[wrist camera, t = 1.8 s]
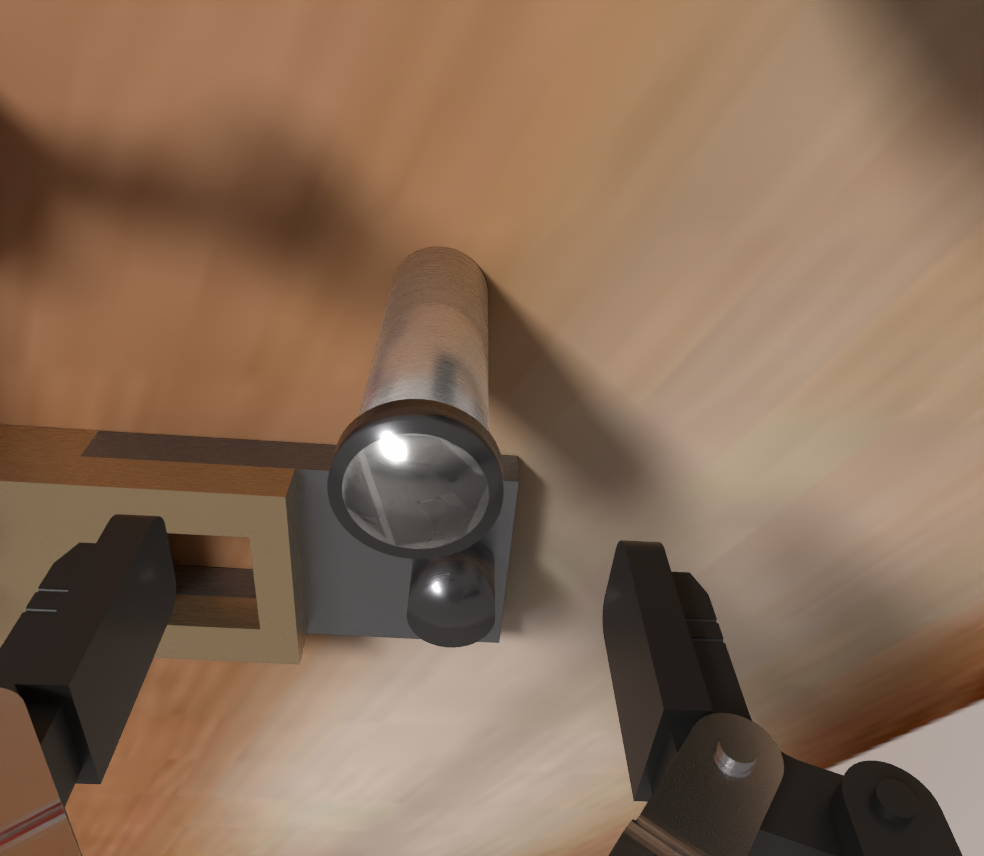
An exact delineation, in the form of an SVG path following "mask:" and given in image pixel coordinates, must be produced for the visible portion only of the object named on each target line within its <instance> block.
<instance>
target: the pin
mask: <svg viewBox="0 0 984 856" xmlns="http://www.w3.org/2000/svg"><path fill="white" fill-rule="evenodd" d="M327 492H328V499H329V502H330V505H331V508H332V510H333V512H334V514H335V516H336V518H337V519H338V521H339V522H340V524H341V525H342V526H343V527H344V528H345V529H346V531H347V532H349V533H350V534H351V535H352V536H353V537H354V538H356V539H357V540H358V541H360V542H361V543H363V544H364V545H366V546H368V547H370V548H372V549H374V550H376V551H379V552H381V553H384V554H388V555H391V556H395V557H400V558H407V559H432V558H439V557H444V556H448V555H451V554H454V553H457V552H459V551H462V550H464V549H466V548H468V547H470V546H471V545H473V544H475V543H476V542H477V541H479V540H480V539H481V538H482V537H483V536H484V535H485V534H487V533H488V532H489V530H490V529H491V528H492V526H493V525H494V524H495V522H496V520H497V518H498V516H499V514H500V511H501V508H502V504H503V495H504V486H503V464H502V457H501V454H500V451H499V448H498V446H497V444H496V442H495V440H494V439H493V437H492V436H491V434H490V433H489V414H488V289H487V283H486V279H485V277H484V275H483V273H482V271H481V269H480V268H479V266H478V265H477V264H476V263H475V262H474V261H473V260H472V259H471V258H470V257H468V256H467V255H465V254H463V253H462V252H460V251H457V250H455V249H451V248H447V247H428V248H424V249H421V250H419V251H416V252H414V253H413V254H411V255H409V256H408V257H407V258H405V259H404V260H403V261H402V262H401V264H400V265H399V266H398V268H397V270H396V271H395V273H394V276H393V279H392V283H391V287H390V291H389V295H388V299H387V303H386V307H385V311H384V315H383V319H382V323H381V328H380V332H379V336H378V340H377V344H376V348H375V352H374V356H373V360H372V364H371V368H370V372H369V376H368V380H367V384H366V388H365V392H364V396H363V400H362V404H361V408H360V412H359V416H358V417H357V418H356V419H355V420H354V421H353V422H351V423H350V424H349V426H348V427H347V428H346V429H345V431H344V432H343V434H342V435H341V437H340V439H339V441H338V443H337V446H336V449H335V452H334V456H333V460H332V463H331V467H330V471H329V475H328V480H327Z"/></svg>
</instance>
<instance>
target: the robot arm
mask: <svg viewBox="0 0 984 856" xmlns="http://www.w3.org/2000/svg"><path fill="white" fill-rule="evenodd" d="M175 596H176V579H175V573H174V568H173V563H172V557H171V552H170V547H169V541H168V536H167V531H166V526H165V522H164V520H163V518H162V517H160V516H145V515H125V514H115V515H114V516H112V517H111V519H110V520H109V522H108V523H107V525H106V527H105V528H104V530H103V532H102V534H101V535H100V537H99V539H98V541H97V542H96V543H81V542H79V543H78V544H77V545H76V546H74V547H73V548H72V549H71V550H69V551H68V552H67V553H66V554H64V555H63V556H62V557H61V558H59V559H58V560H57V561H56V562H54V563H53V565H52V566H51V568H50V569H49V571H48V573H47V574H46V576H45V577H44V579H43V581H42V582H41V584H40V585H39V587H38V592H35V593H34V595H33V597H32V598H31V600H30V601H29V603H28V605H27V606H26V611H25V612H22V614H21V616H20V617H19V619H18V620H17V622H16V624H15V625H14V627H13V628H12V630H11V632H10V633H9V635H8V636H7V638H6V640H5V641H4V643H3V644H2V646H1V648H0V856H82V854H81V851H80V848H79V845H78V843H77V840H76V837H75V834H74V832H73V829H72V826H71V824H70V821H69V818H68V815H67V813H66V810H65V805H66V803H67V801H68V798H69V796H70V794H71V792H72V789H73V787H74V785H75V783H79V784H101V782H102V780H103V777H104V775H105V773H106V770H107V768H108V765H109V763H110V761H111V758H112V756H113V753H114V751H115V749H116V746H117V744H118V741H119V739H120V737H121V734H122V732H123V729H124V727H125V725H126V722H127V720H128V717H129V715H130V713H131V710H132V708H133V706H134V703H135V701H136V698H137V696H138V694H139V691H140V689H141V686H142V684H143V682H144V679H145V677H146V674H147V672H148V670H149V667H150V665H151V662H152V660H153V658H154V655H155V653H156V650H157V648H158V646H159V643H160V641H161V638H162V636H163V634H164V631H165V629H166V627H167V624H168V622H169V619H170V617H171V614H172V611H173V607H174V603H175ZM716 619H717V618H716V616H715V613H714V610H713V607H712V604H711V601H710V598H709V595H708V594H707V592H706V591H705V590H704V589H703V588H702V587H701V585H700V584H699V583H698V582H697V581H696V580H695V578H694V577H693V576H692V575H691V574H690V573H686V572H671V569H670V566H669V563H668V559H667V556H666V553H665V549H664V547H663V545H662V544H661V543H660V542H642V541H619V542H618V544H617V547H616V551H615V555H614V560H613V564H612V568H611V573H610V577H609V581H608V586H607V590H606V594H605V599H604V605H603V633H604V639H605V644H606V650H607V655H608V661H609V667H610V672H611V678H612V683H613V689H614V694H615V700H616V705H617V711H618V716H619V722H620V727H621V733H622V738H623V744H624V749H625V755H626V760H627V766H628V771H629V777H630V782H631V788H632V793H633V799H634V801H648V803H647V804H646V806H645V808H644V809H643V811H642V812H641V814H640V816H639V817H638V818H637V820H636V821H635V820H632V821H631V822H630V823H629V824H628V826H627V827H626V828H625V830H624V831H623V833H622V835H621V836H620V838H619V839H618V841H617V843H616V844H615V846H614V848H613V849H612V851H611V853H610V854H609V856H962V854H961V851H960V849H959V847H958V845H957V843H956V841H955V838H954V836H953V834H952V832H951V830H950V827H949V825H948V823H947V821H946V819H945V817H944V815H943V812H942V810H941V808H940V806H939V805H938V802H937V801H936V799H935V798H934V797H933V795H932V794H931V792H930V791H929V790H928V789H927V788H926V787H925V786H924V785H923V784H922V783H921V782H920V781H919V780H917V779H916V778H915V777H913V776H912V775H911V774H909V773H908V772H906V771H904V770H902V769H900V768H898V767H896V766H894V765H891V764H888V763H885V762H880V761H863V762H859V763H857V764H854V765H853V766H851V767H850V768H849V769H848V770H847V772H846V773H845V775H844V776H843V775H840V774H837V773H834V772H831V771H828V770H825V769H822V768H819V767H816V766H813V765H810V764H807V763H804V762H801V761H799V760H796V759H794V758H792V757H790V756H788V755H786V754H784V753H783V752H781V751H780V750H779V748H778V746H777V744H776V743H775V741H774V740H773V738H772V737H771V736H770V735H769V734H768V733H767V732H766V731H765V730H764V729H763V728H761V727H760V726H759V725H757V724H756V723H754V722H753V721H752V719H751V717H750V715H749V712H748V709H747V706H746V703H745V700H744V697H743V694H742V691H741V689H740V686H739V683H738V680H737V677H736V674H735V671H734V668H733V665H732V662H731V659H730V656H729V654H728V651H727V648H726V645H725V643H723V636H722V633H721V630H720V627H719V624H718V623H716Z"/></svg>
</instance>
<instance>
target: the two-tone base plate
mask: <svg viewBox="0 0 984 856" xmlns="http://www.w3.org/2000/svg"><path fill="white" fill-rule="evenodd" d="M336 446H337V445H326V444H309V443H293V442H276V441H259V440H243V439H226V438H209V437H192V436H176V435H159V434H142V433H126V432H109V431H92V430H75V429H59V428H42V427H25V426H9V425H0V648H1V646H2V644H3V643H4V641H5V640H6V638H7V636H8V635H9V633H10V632H11V630H12V628H13V627H14V625H15V624H16V622H17V620H18V619H19V617H20V616H21V614H22V612H25V611H26V606H27V605H28V603H29V601H30V600H31V598H32V597H33V595H34V593H35V592H38V587H39V585H40V584H41V582H42V581H43V579H44V577H45V576H46V574H47V573H48V571H49V569H50V568H51V566H52V565H53V563H54V562H56V561H57V560H58V559H59V558H61V557H62V556H63V555H64V554H66V553H67V552H68V551H69V550H71V549H72V548H73V547H74V546H76V545H77V544H78V543H79V542H81V543H96V542H97V541H98V539H99V537H100V535H101V534H102V532H103V530H104V528H105V527H106V525H107V523H108V522H109V520H110V519H111V517H112V516H114V515H115V514H125V515H145V516H160V517H162V518H163V520H164V522H165V526H166V531H167V533H175V534H193V535H212V536H231V537H249V541H250V549H251V557H252V565H253V569H234V568H214V567H195V566H176V565H173V568H174V573H175V579H176V596H175V603H174V607H173V611H172V614H171V617H170V619H169V622H168V624H167V627H166V629H165V631H164V634H163V636H162V638H161V641H160V643H159V646H158V648H157V650H156V653H155V655H154V658H171V659H192V660H214V661H236V662H257V663H279V664H300V661H301V657H302V652H303V648H304V644H305V640H306V636H307V634H328V635H349V636H370V637H390V638H411V639H422V640H424V641H426V642H428V643H431V644H434V645H437V646H442V647H462V646H467V645H470V644H473V643H475V642H494V643H499V639H500V631H501V623H502V615H503V607H504V598H505V590H506V582H507V574H508V566H509V557H510V549H511V541H512V533H513V525H514V516H515V508H516V500H517V492H518V484H519V478H518V460H517V456H510V455H501V457H502V464H503V486H504V495H503V504H502V508H501V511H500V514H499V516H498V518H497V520H496V522H495V524H494V525H493V526H492V528H491V529H490V530H489V532H488V533H487V534H485V535H484V536H483V537H482V538H481V539H480V540H479V541H477V542H476V543H475V544H473V545H471V546H470V547H468V548H466V549H464V550H462V551H459V552H457V553H454V554H451V555H448V556H444V557H439V558H432V559H407V558H400V557H395V556H391V555H388V554H384V553H381V552H379V551H376V550H374V549H372V548H370V547H368V546H366V545H364V544H363V543H361V542H360V541H358V540H357V539H356V538H354V537H353V536H352V535H351V534H350V533H349V532H347V531H346V529H345V528H344V527H343V526H342V525H341V524H340V522H339V521H338V519H337V518H336V516H335V514H334V512H333V510H332V508H331V505H330V502H329V499H328V492H327V480H328V475H329V471H330V467H331V463H332V460H333V456H334V452H335V449H336Z"/></svg>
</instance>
